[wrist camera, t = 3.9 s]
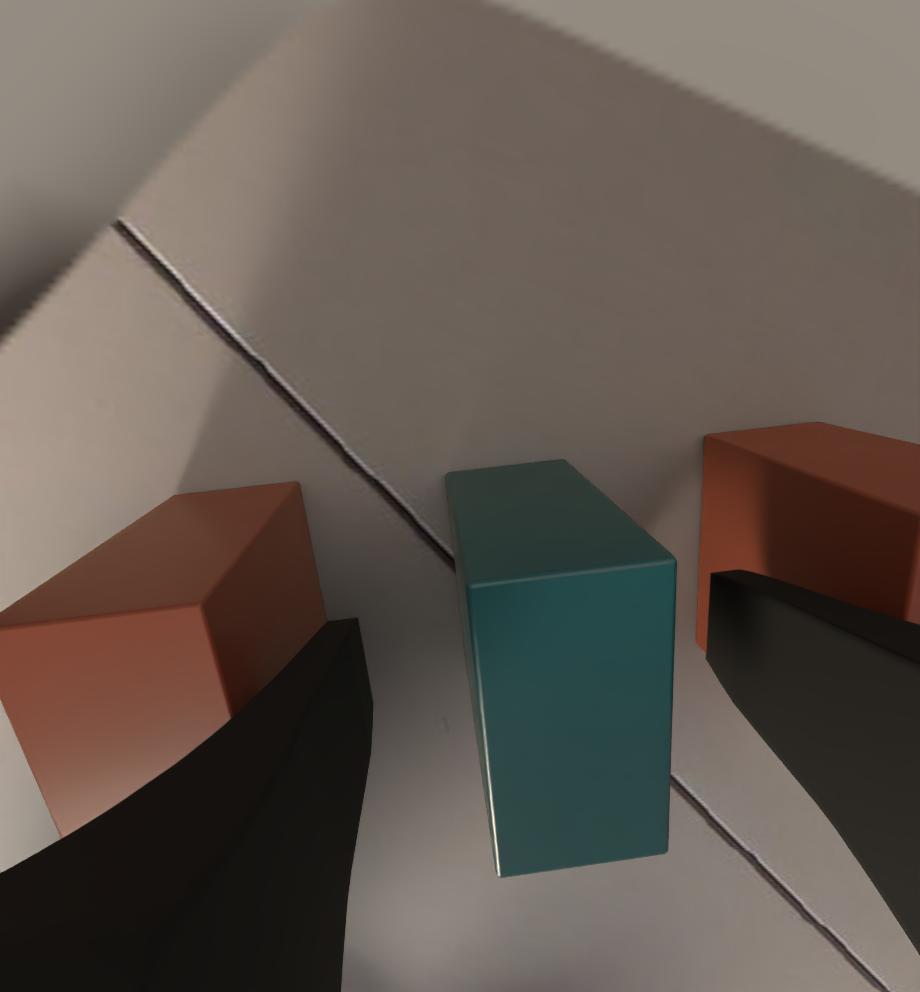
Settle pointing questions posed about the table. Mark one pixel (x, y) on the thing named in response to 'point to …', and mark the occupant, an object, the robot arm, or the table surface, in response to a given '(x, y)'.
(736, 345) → the table surface
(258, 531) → the pair of orange blocks
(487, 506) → the teal rectangular block
